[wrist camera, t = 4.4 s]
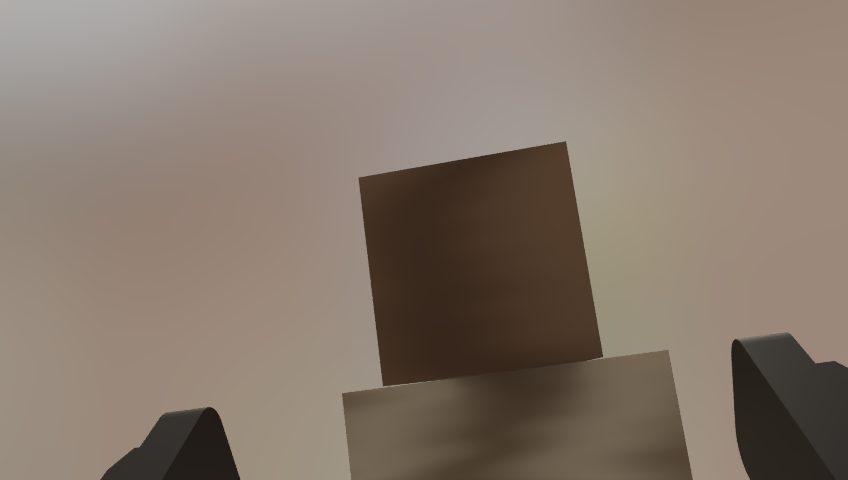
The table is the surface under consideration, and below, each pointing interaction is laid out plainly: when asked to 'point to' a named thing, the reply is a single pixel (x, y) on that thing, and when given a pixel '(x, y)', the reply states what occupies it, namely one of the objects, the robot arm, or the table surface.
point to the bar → (478, 267)
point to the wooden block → (524, 425)
